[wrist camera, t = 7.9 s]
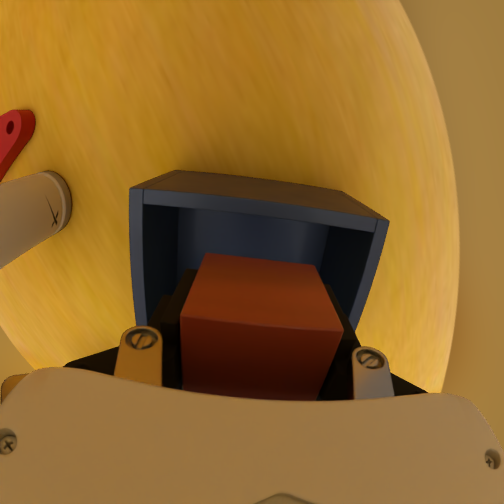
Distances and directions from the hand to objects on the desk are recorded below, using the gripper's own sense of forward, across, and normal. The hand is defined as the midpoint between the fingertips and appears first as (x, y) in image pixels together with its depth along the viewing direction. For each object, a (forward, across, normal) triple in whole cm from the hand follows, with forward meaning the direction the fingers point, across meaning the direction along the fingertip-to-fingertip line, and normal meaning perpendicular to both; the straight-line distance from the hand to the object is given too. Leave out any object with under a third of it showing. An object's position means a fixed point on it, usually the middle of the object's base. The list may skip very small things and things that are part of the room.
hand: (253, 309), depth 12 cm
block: (0, 0, 0) cm, 0 cm away
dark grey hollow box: (+12, 0, +3) cm, 12 cm away
